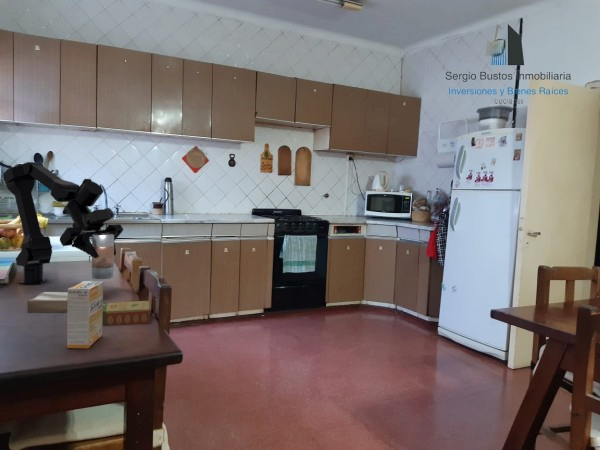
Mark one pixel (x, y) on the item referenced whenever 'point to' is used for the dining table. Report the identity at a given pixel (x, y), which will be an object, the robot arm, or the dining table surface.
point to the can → (103, 256)
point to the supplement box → (84, 314)
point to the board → (49, 302)
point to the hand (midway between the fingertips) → (106, 256)
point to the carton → (126, 313)
